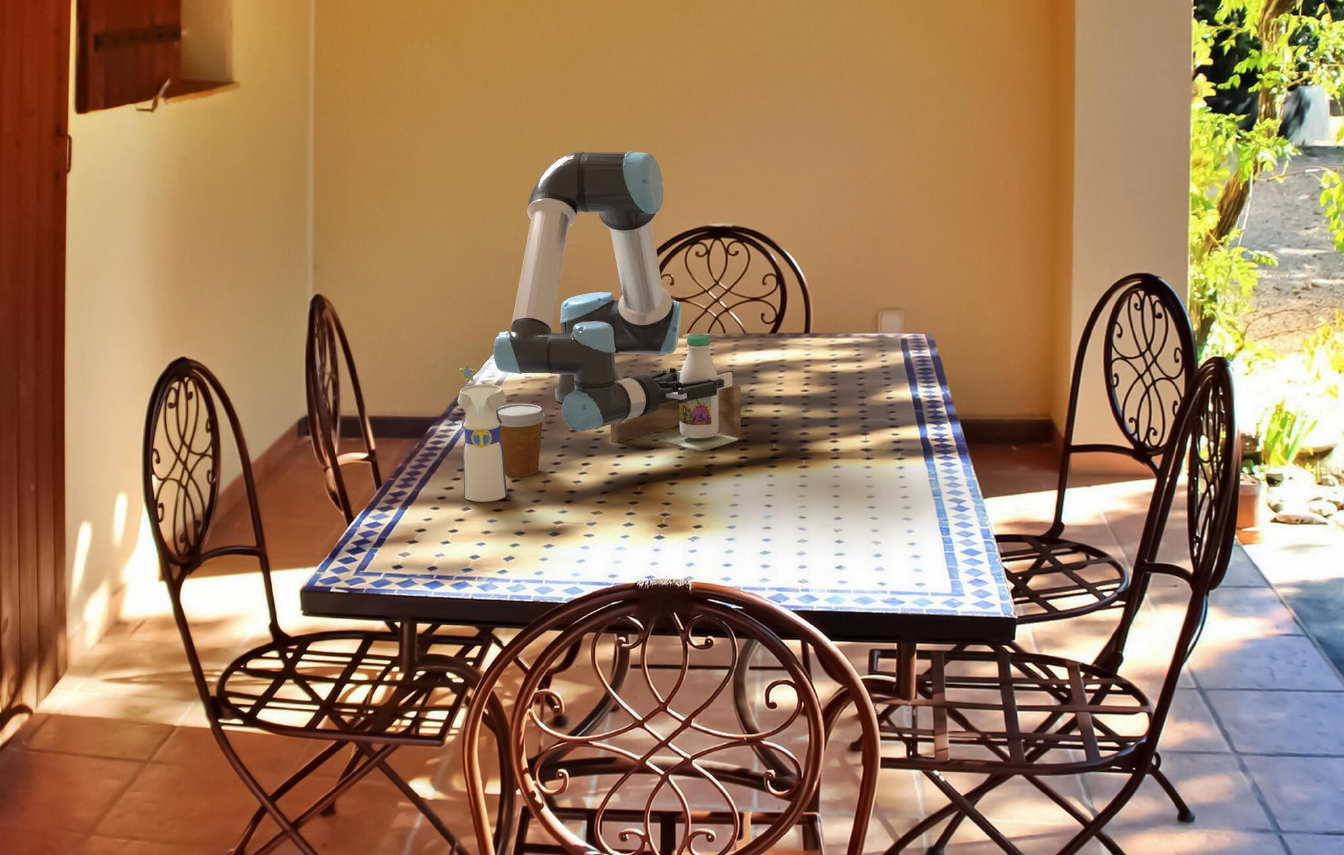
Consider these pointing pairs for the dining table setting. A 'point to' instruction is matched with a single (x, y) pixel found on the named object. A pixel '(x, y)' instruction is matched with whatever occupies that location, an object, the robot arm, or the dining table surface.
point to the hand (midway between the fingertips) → (715, 375)
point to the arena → (670, 417)
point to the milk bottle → (702, 412)
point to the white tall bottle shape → (482, 440)
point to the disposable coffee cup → (521, 437)
